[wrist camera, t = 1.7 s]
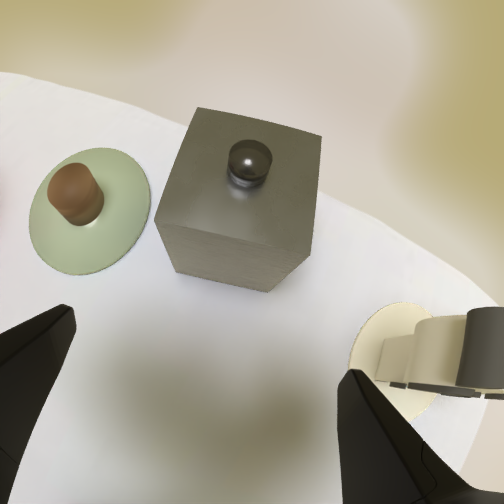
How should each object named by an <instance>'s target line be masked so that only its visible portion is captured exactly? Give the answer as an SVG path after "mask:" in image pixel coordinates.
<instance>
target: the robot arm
mask: <svg viewBox="0 0 504 504" xmlns="http://www.w3.org/2000/svg"><path fill="white" fill-rule="evenodd" d="M75 333H76V321H75V315H74V310H73V308H72V307H70V306H67V305H65V304H60V305H58V306H56V307H54V308H52V309H50V310H48V311H45V312H43V313H41V314H39V315H37V316H35V317H33V318H31V319H29V320H27V321H25V322H23V323H21V324H19V325H17V326H15V327H13V328H11V329H9V330H7V331H5V332H3V333H1V334H0V504H8V500H9V496H10V493H11V490H12V487H13V483H14V480H15V477H16V474H17V471H18V468H19V465H20V462H21V459H22V457H23V454H24V451H25V449H26V446H27V444H28V441H29V438H30V436H31V434H32V431H33V429H34V426H35V424H36V422H37V419H38V417H39V415H40V412H41V410H42V408H43V406H44V404H45V401H46V399H47V397H48V395H49V393H50V391H51V389H52V387H53V385H54V383H55V381H56V379H57V377H58V374H59V372H60V370H61V368H62V365H63V363H64V360H65V358H66V355H67V353H68V350H69V347H70V345H71V343H72V340H73V338H74V335H75ZM337 431H338V443H339V454H340V466H341V480H342V497H343V504H504V493H499V492H490V491H483V490H479V489H476V488H474V487H472V486H470V485H469V484H467V483H466V482H465V481H464V480H463V479H462V478H461V477H460V476H459V475H457V474H456V473H455V472H454V471H453V470H452V469H451V468H450V467H449V466H448V465H447V464H446V463H445V462H444V461H443V460H442V459H441V458H440V457H439V456H438V455H437V454H436V453H435V452H434V451H433V450H432V449H431V448H430V447H429V445H428V444H427V443H426V442H425V441H423V439H422V438H421V436H420V435H419V434H418V433H417V432H416V431H415V430H414V428H413V427H412V426H411V425H410V424H409V423H408V422H407V420H406V419H405V418H404V417H403V416H402V415H401V414H400V413H399V411H398V410H397V409H396V408H395V407H394V406H393V405H392V403H391V402H390V401H389V400H388V399H387V398H386V397H385V395H384V394H383V393H382V392H381V391H380V390H379V389H378V388H377V386H376V385H375V384H374V383H373V382H372V381H371V380H370V378H369V377H368V376H367V375H366V374H365V373H364V372H363V371H362V370H360V369H349V370H348V371H347V373H346V374H345V376H344V377H343V379H342V380H341V382H340V383H339V385H338V390H337Z"/></svg>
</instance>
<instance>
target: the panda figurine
mask: <svg viewBox="0 0 504 504" xmlns="http://www.w3.org/2000/svg"><path fill="white" fill-rule="evenodd" d="M349 369H360V370H362V371H363V372H364V373H365V374H366V375H367V376H368V377H369V378H370V380H371V381H372V382H373V383H374V384H375V385H376V386H377V388H378V389H379V390H380V391H381V392H382V393H383V394H384V395H385V397H386V398H387V399H388V400H389V401H390V402H391V403H392V405H393V406H394V407H395V408H396V409H397V410H398V411H399V413H400V414H401V415H402V416H403V417H404V418H405V419H406V420H407V422H408V421H411V420H412V419H414V418H416V417H417V416H419V415H420V414H421V413H422V412H423V411H424V410H425V409H426V408H427V407H428V406H429V405H430V404H431V402H432V401H433V399H434V398H435V396H436V394H437V393H440V394H441V395H446V396H455V397H465V398H471V397H476V398H480V396H481V394H485V397H484V399H498V400H504V307H483V308H476V309H472V310H470V311H468V313H467V315H452V316H440V317H433V316H432V315H431V314H430V313H429V312H428V311H427V310H425V309H424V308H422V307H420V306H418V305H416V304H413V303H407V302H401V303H395V304H391V305H388V306H386V307H384V308H382V309H380V310H378V311H377V312H376V313H374V314H373V315H372V316H371V317H370V318H369V319H368V320H367V321H366V322H365V324H364V325H363V326H362V328H361V329H360V331H359V333H358V334H357V336H356V338H355V341H354V343H353V346H352V349H351V352H350V357H349V363H348V370H349Z"/></svg>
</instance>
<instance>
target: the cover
mask: <svg viewBox="0 0 504 504" xmlns="http://www.w3.org/2000/svg"><path fill="white" fill-rule="evenodd" d="M321 138H322V137H321V136H319V135H315V134H312V133H309V132H306V131H302V130H299V129H295V128H291V127H288V126H284V125H279V124H276V123H272V122H268V121H263V120H259V119H255V118H251V117H246V116H242V115H237V114H232V113H227V112H221V111H217V110H211V109H205V108H199V107H198V108H197V109H196V112H195V114H194V116H193V118H192V121H191V123H190V125H189V128H188V130H187V132H186V135H185V137H184V140H183V142H182V144H181V147H180V149H179V152H178V154H177V157H176V159H175V162H174V165H173V167H172V170H171V172H170V175H169V178H168V181H167V183H166V186H165V189H164V192H163V194H162V197H161V200H160V203H159V206H158V209H157V212H156V215H155V218H154V222H155V224H156V227H157V229H158V231H159V234H160V236H161V239H162V241H163V244H164V246H165V248H166V251H167V253H168V255H169V258H170V260H171V262H172V265H173V267H174V269H175V271H176V272H178V273H182V274H186V275H190V276H195V277H199V278H203V279H208V280H212V281H217V282H221V283H226V284H230V285H235V286H239V287H244V288H248V289H253V290H258V291H263V292H267V293H268V292H269V291H270V290H271V289H272V288H273V287H275V286H276V285H277V284H278V283H279V282H280V281H281V280H283V279H284V278H285V277H286V276H287V275H288V274H289V273H291V272H292V271H293V270H294V269H295V268H296V267H297V266H299V265H300V264H301V263H302V262H303V261H304V260H305V259H306V258H307V257H309V256H310V252H311V244H312V235H313V227H314V218H315V208H316V199H317V188H318V177H319V164H320V153H321Z"/></svg>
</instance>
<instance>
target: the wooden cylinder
mask: <svg viewBox="0 0 504 504" xmlns="http://www.w3.org/2000/svg"><path fill="white" fill-rule="evenodd" d="M47 197H48V200H49V202H50V203H51V204H52V205H53V206H54V208H55V209H56V210H57V211H58V212H59V213H60V214H61V215H62V216H63V217H64V218H65V219H66V220H67V221H68V222H69V223H70V224H72V225H75V226H84V225H87V224H89V223H91V222H92V221H94V220H95V219H96V218H97V217H98V216H99V214H100V213H101V211H102V209H103V206H104V194H103V192H102V190H101V189H100V187H99V185H98V184H97V182H96V180H95V179H94V177H93V175H92V173H91V172H90V170H89V168H88V167H87V166H86V165H84V164H82V163H70V164H67V165H65V166H63V167H62V168H60V169H59V170H58V171H57V172H56V173H55V174H54V175H53V177H52V178H51V180H50V182H49V185H48V188H47Z"/></svg>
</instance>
